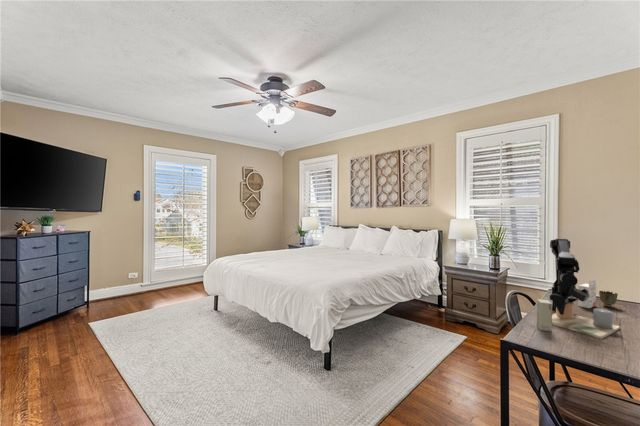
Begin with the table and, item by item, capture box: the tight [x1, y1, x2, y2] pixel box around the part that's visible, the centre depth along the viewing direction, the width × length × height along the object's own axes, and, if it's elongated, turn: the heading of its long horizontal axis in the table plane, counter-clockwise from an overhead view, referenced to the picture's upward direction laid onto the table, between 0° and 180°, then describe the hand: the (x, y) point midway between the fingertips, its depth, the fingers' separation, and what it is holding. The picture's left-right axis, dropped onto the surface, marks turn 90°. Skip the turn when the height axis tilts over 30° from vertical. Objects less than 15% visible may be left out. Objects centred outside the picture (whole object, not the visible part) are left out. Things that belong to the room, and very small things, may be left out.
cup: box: [598, 290, 618, 308], centre depth 163 cm, size 8×7×8 cm
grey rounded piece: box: [592, 307, 614, 329], centre depth 132 cm, size 6×6×7 cm
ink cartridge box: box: [577, 279, 597, 309], centre depth 163 cm, size 9×5×15 cm, turn 117°
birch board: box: [552, 312, 621, 340], centre depth 136 cm, size 22×22×1 cm
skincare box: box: [536, 298, 553, 332], centre depth 131 cm, size 6×4×12 cm
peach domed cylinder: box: [555, 301, 575, 319], centre depth 144 cm, size 6×6×7 cm
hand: (564, 313), depth 144 cm, fingers closed on peach domed cylinder, 6 cm apart
